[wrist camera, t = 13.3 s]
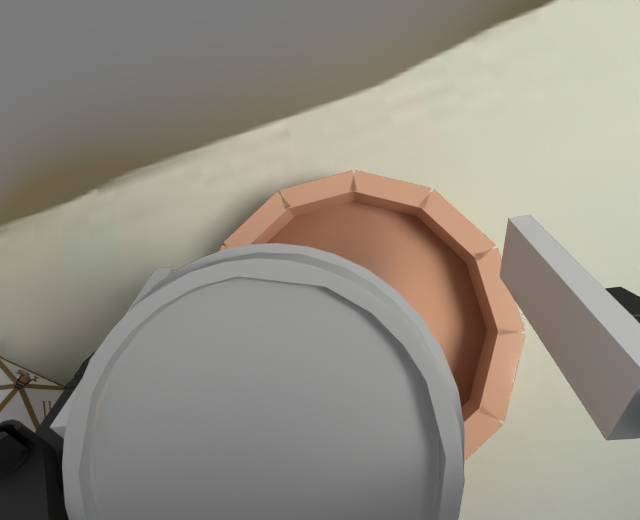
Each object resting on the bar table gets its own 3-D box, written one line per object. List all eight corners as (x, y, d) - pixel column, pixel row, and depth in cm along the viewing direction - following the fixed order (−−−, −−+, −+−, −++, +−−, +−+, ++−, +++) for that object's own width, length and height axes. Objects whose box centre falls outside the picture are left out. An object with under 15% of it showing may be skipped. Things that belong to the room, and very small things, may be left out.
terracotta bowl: (566, 332, 19) (596, 335, 16) (346, 540, 19) (343, 575, 16) (356, 139, 22) (354, 117, 19) (170, 315, 22) (145, 315, 19)
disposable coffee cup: (242, 456, 19) (84, 753, 7) (205, 288, 20) (6, 294, 8) (410, 416, 19) (547, 650, 7) (366, 248, 19) (419, 189, 8)
